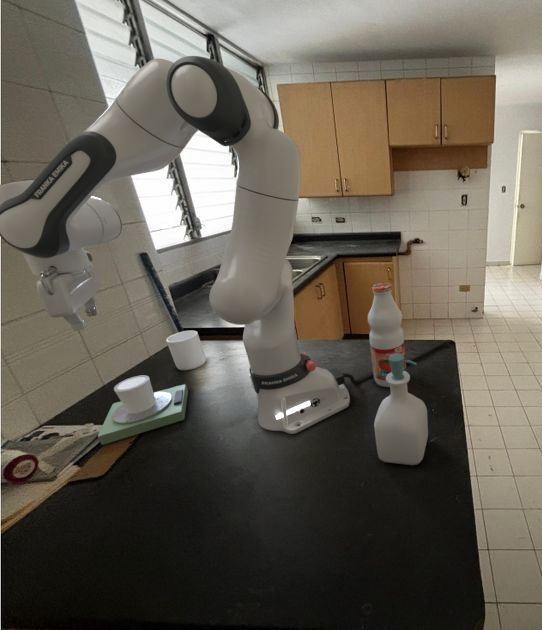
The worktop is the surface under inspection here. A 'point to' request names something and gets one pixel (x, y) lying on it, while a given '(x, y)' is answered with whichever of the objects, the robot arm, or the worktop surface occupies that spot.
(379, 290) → the fruit juice
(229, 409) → the worktop surface
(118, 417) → the scale pan
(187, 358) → the cup
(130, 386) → the white cylindrical container
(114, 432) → the scale
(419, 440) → the soap bottle
